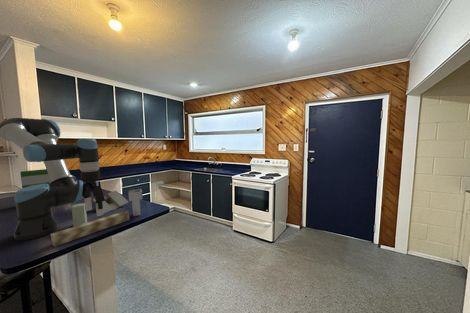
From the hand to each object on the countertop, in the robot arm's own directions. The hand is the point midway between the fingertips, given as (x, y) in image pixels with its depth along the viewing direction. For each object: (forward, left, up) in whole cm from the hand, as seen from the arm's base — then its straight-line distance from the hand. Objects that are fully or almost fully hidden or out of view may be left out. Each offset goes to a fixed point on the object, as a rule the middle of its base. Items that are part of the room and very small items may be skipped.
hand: (94, 212), depth 96 cm
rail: (0, 0, -10) cm, 10 cm away
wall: (+4, +35, -10) cm, 37 cm away
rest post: (-8, +12, -9) cm, 18 cm away
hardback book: (-41, +74, -10) cm, 86 cm away
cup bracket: (+19, +12, -9) cm, 24 cm away
